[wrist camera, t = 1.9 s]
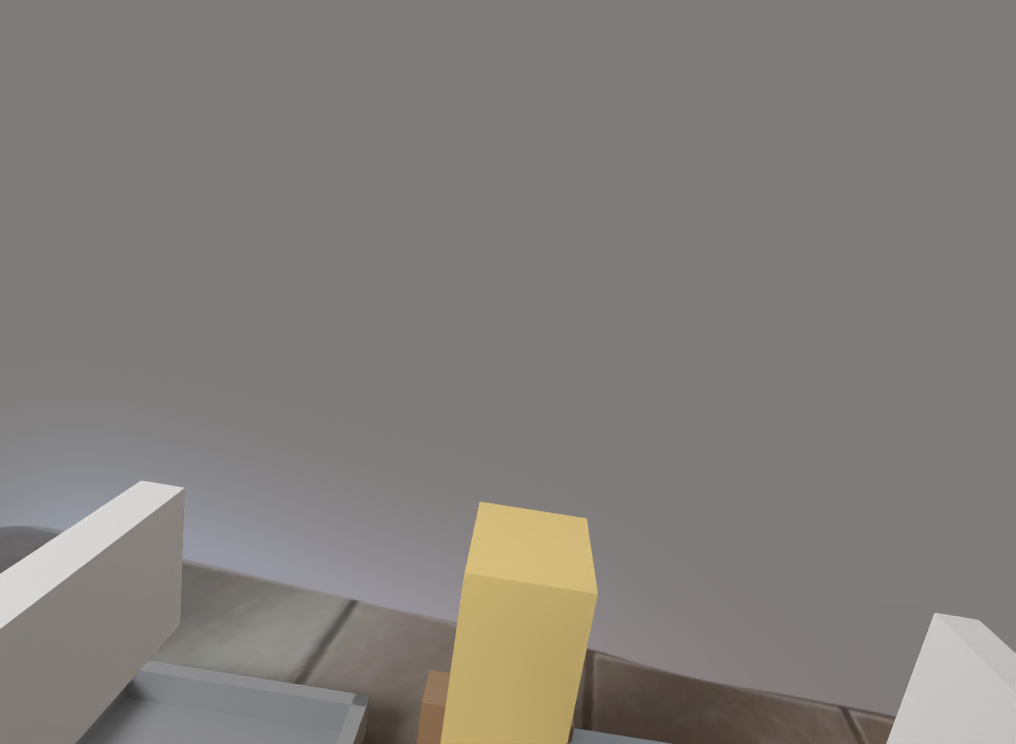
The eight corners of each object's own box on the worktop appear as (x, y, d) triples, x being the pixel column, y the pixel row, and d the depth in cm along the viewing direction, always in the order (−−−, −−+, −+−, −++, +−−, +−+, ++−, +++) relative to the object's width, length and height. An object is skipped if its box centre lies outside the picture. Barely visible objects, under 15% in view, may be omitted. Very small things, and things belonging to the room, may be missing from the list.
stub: (534, 791, 33) (587, 518, 29) (533, 917, 27) (599, 594, 23) (439, 776, 33) (479, 501, 29) (416, 897, 27) (463, 573, 23)
